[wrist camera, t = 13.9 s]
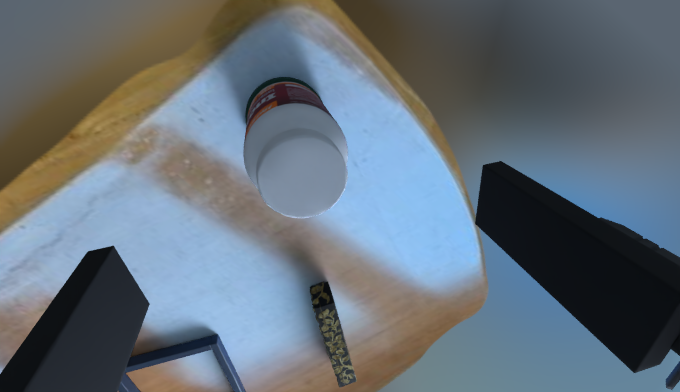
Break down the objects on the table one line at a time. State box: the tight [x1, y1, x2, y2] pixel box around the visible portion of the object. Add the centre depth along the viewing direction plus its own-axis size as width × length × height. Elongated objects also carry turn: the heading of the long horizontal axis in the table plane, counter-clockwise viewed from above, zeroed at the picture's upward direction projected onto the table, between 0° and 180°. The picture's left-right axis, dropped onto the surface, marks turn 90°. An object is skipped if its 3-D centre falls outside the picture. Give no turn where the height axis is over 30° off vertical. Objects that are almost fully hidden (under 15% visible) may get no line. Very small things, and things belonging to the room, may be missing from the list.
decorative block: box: [310, 282, 357, 387], centre depth 38 cm, size 15×2×4 cm, turn 11°
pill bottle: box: [244, 82, 348, 218], centre depth 21 cm, size 6×6×11 cm
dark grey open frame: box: [118, 335, 246, 392], centre depth 38 cm, size 14×12×1 cm
